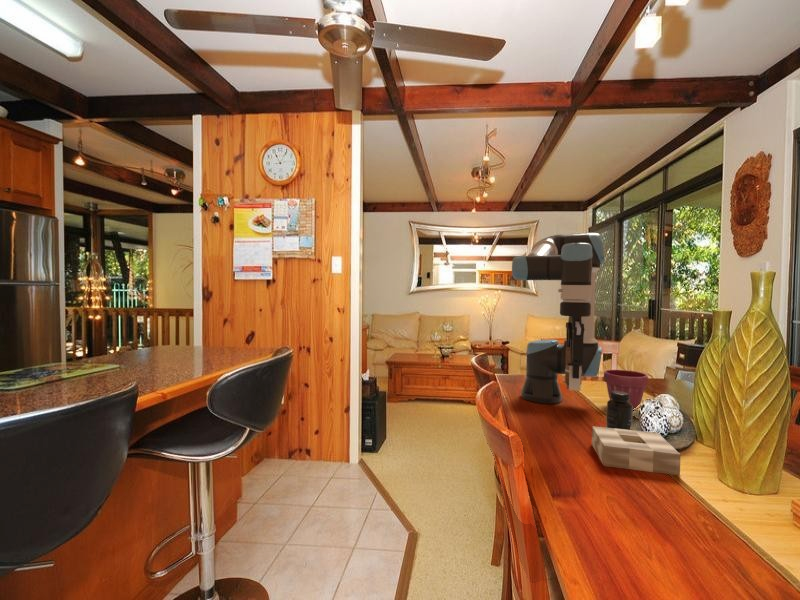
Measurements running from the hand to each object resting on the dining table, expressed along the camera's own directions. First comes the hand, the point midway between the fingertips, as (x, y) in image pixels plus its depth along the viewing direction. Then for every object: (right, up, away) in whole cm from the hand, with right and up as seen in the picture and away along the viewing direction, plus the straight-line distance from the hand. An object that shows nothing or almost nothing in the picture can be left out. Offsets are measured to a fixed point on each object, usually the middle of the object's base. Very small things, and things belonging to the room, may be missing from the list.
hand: (573, 387), depth 103 cm
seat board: (+13, -17, -5) cm, 22 cm away
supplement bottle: (+20, -17, +13) cm, 29 cm away
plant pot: (+37, -16, +39) cm, 56 cm away
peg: (0, 0, 0) cm, 0 cm away
